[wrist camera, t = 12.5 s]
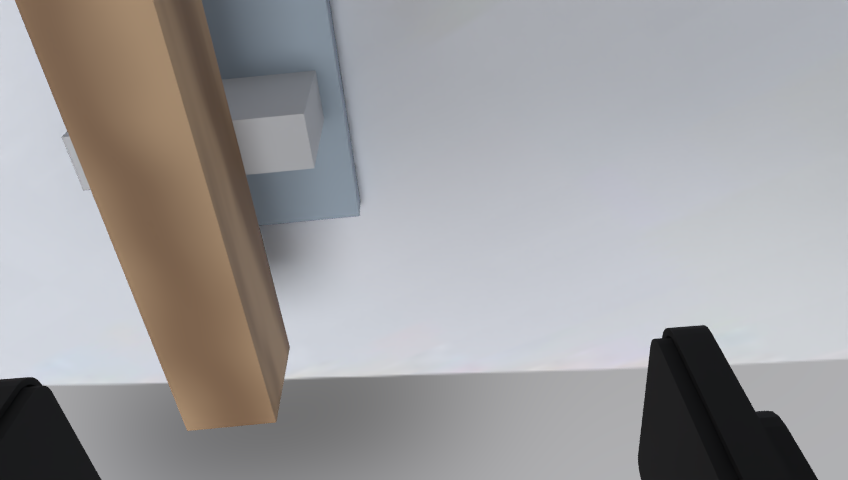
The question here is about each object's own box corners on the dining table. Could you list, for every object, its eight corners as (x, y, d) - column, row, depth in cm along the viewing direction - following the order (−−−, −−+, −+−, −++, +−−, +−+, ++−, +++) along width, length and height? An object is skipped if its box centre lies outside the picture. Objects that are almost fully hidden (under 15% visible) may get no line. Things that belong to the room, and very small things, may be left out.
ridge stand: (318, -67, 30) (302, -38, 24) (360, 202, 38) (355, 274, 32) (55, -41, 30) (-25, -6, 24) (149, 222, 38) (105, 298, 32)
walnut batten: (163, -150, 22) (111, -142, 18) (289, 347, 34) (276, 422, 30) (44, -139, 22) (-37, -127, 18) (211, 354, 34) (187, 430, 30)
